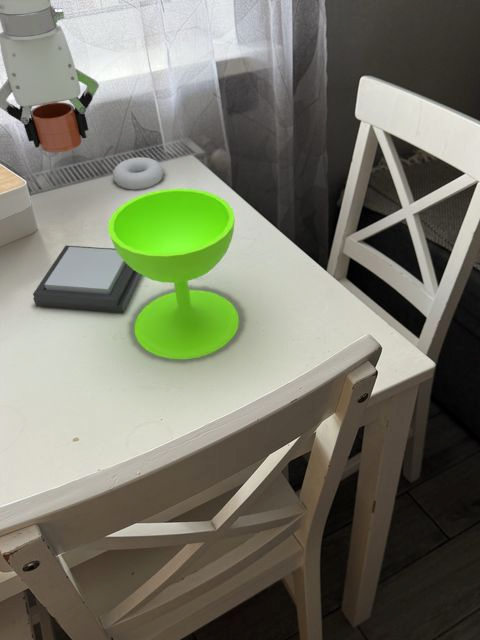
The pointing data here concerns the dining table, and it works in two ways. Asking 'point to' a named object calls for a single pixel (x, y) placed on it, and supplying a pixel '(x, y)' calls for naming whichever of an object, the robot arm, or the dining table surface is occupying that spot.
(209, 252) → the wineglass
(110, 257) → the grey square slab
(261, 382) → the dining table surface
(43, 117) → the cup
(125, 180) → the donut
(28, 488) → the dining table surface
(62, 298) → the scale
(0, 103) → the robot arm
